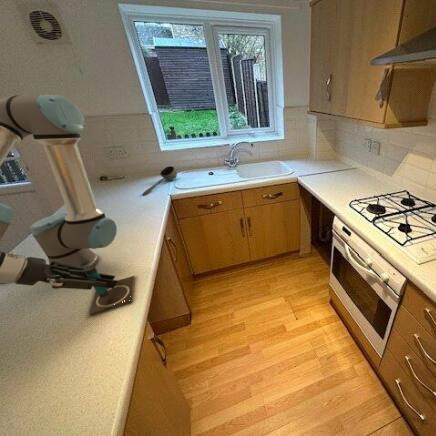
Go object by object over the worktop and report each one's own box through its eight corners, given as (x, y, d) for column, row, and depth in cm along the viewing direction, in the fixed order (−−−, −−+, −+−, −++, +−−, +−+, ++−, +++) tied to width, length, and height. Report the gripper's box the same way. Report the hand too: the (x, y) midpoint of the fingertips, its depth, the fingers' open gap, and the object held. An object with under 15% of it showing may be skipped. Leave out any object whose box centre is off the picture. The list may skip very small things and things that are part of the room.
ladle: (181, 174, 200) (175, 164, 193) (158, 204, 173) (150, 193, 166) (169, 175, 202) (163, 165, 196) (144, 205, 175) (136, 194, 168)
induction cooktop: (90, 315, 79) (89, 313, 78) (98, 288, 90) (97, 286, 89) (132, 302, 83) (131, 300, 83) (135, 277, 94) (134, 275, 94)
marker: (98, 299, 81) (82, 272, 75) (99, 293, 83) (84, 266, 78) (108, 296, 82) (93, 269, 76) (109, 290, 85) (95, 263, 79)
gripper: (30, 270, 61) (126, 283, 79) (26, 246, 70) (113, 262, 89) (13, 297, 60) (114, 303, 79) (11, 269, 70) (102, 280, 88)
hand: (113, 281), depth 84 cm, fingers closed on marker, 3 cm apart
